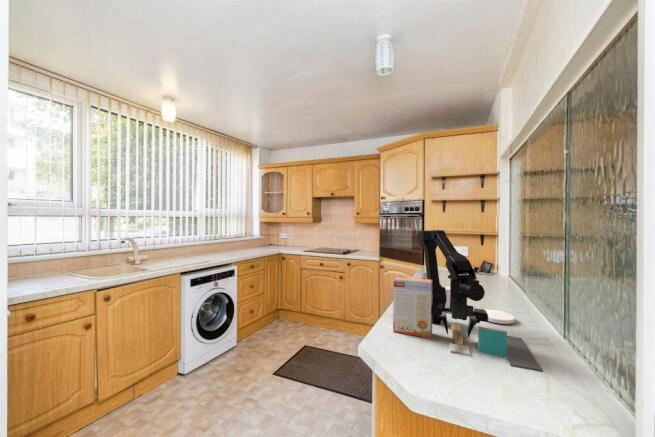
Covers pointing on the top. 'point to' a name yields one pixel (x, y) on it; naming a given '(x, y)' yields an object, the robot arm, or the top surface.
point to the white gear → (500, 317)
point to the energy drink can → (422, 275)
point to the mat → (520, 354)
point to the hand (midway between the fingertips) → (457, 335)
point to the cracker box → (412, 306)
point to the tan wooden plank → (458, 341)
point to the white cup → (447, 296)
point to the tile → (492, 341)
